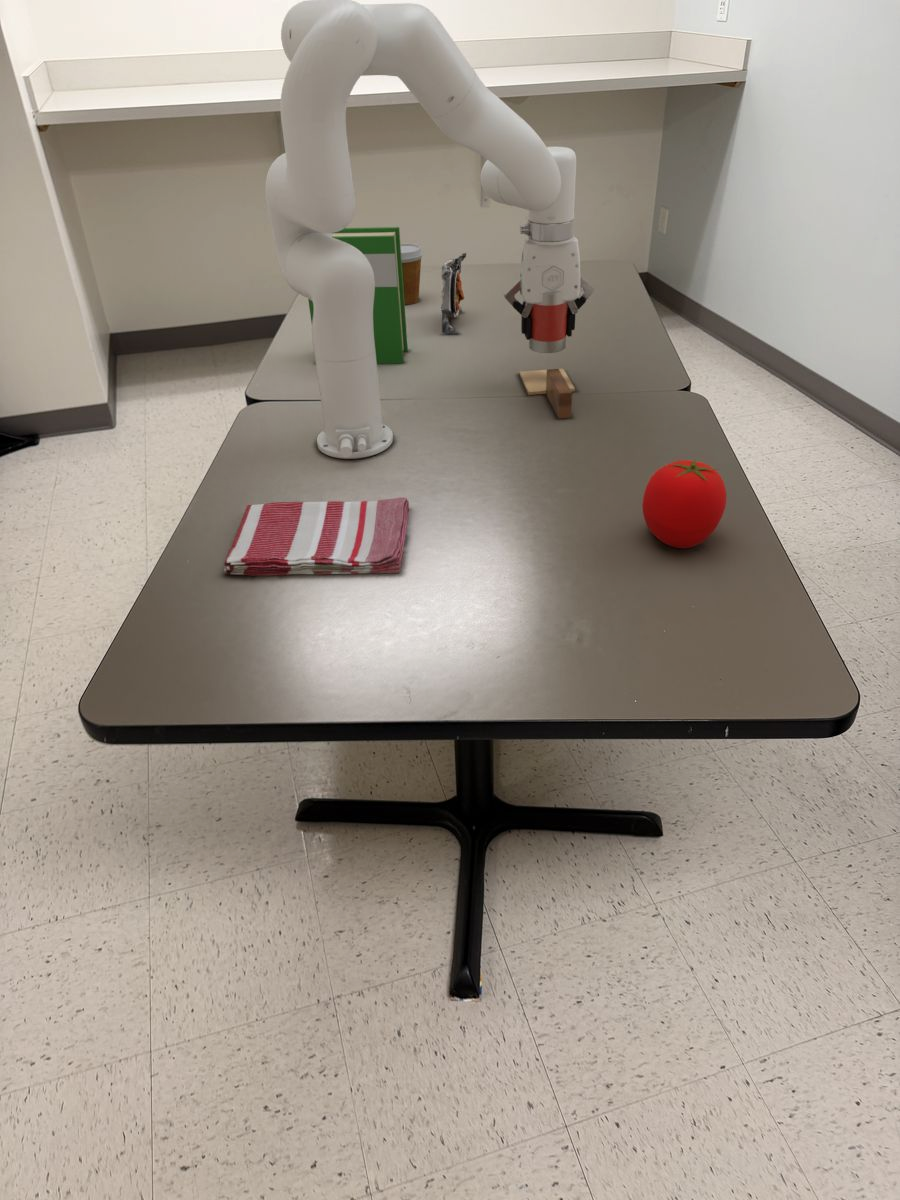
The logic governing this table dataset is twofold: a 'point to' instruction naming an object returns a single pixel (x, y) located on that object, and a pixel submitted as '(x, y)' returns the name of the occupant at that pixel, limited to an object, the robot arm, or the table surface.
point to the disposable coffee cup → (411, 271)
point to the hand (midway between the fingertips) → (547, 334)
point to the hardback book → (382, 287)
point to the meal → (451, 292)
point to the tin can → (549, 324)
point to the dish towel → (320, 538)
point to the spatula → (551, 388)
